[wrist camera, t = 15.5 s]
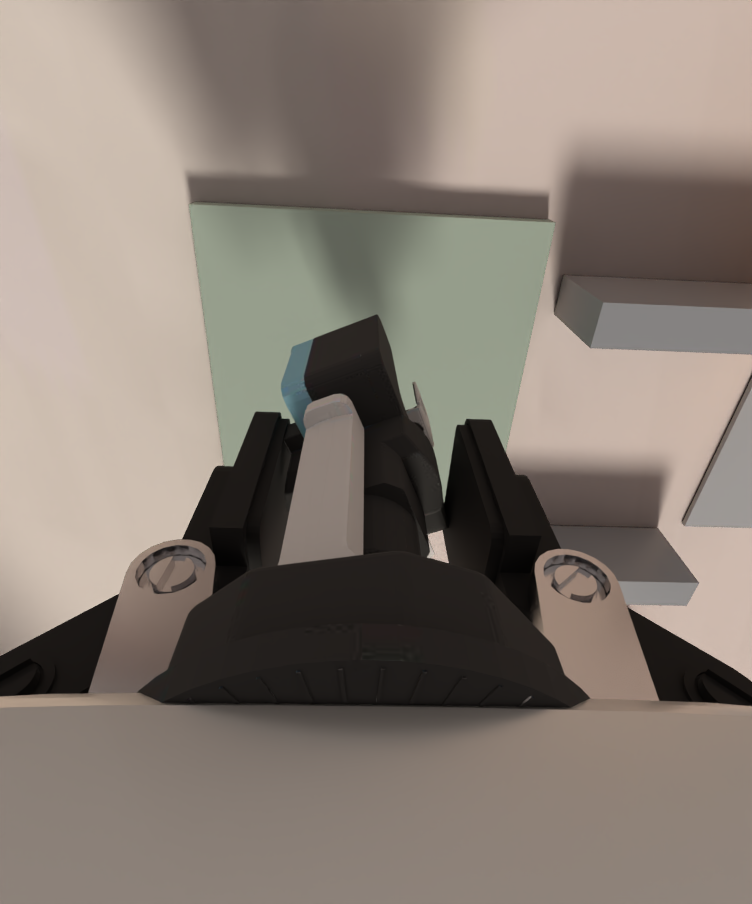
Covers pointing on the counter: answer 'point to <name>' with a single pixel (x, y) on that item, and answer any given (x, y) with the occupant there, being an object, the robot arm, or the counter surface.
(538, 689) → the black stemmed piece
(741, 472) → the cradle
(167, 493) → the counter surface
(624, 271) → the counter surface
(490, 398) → the pad
